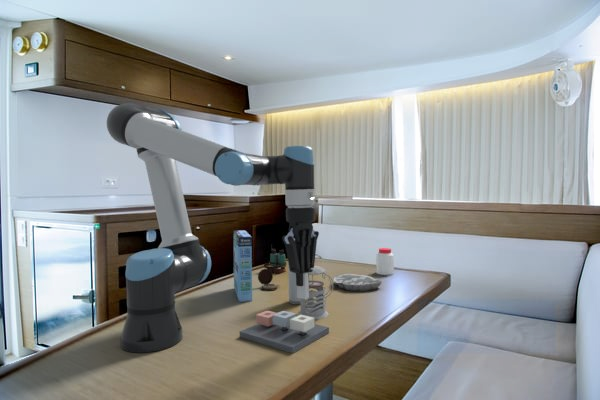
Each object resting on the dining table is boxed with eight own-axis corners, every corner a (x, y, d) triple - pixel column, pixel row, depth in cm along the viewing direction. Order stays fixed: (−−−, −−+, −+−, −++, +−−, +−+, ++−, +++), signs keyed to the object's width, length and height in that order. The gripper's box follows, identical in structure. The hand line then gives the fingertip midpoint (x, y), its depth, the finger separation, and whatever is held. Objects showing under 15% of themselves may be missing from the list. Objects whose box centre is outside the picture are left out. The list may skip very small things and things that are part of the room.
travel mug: (306, 305, 131) (305, 245, 131) (287, 304, 133) (286, 245, 132) (309, 299, 138) (308, 243, 137) (291, 298, 139) (290, 242, 138)
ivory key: (304, 338, 99) (304, 322, 98) (290, 334, 101) (290, 319, 101) (314, 332, 102) (314, 317, 102) (300, 329, 105) (300, 314, 105)
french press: (292, 311, 125) (291, 233, 124) (326, 307, 129) (325, 231, 128) (304, 321, 116) (302, 237, 115) (339, 316, 120) (338, 234, 119)
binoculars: (260, 252, 179) (272, 247, 188) (262, 275, 181) (274, 268, 189) (275, 254, 175) (288, 248, 183) (277, 277, 176) (289, 270, 184)
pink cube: (268, 332, 106) (268, 317, 106) (256, 329, 108) (256, 314, 108) (279, 327, 109) (279, 313, 109) (267, 324, 112) (267, 310, 112)
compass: (265, 292, 149) (264, 273, 148) (257, 287, 156) (257, 269, 156) (284, 289, 152) (284, 270, 152) (276, 284, 159) (275, 267, 159)
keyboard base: (292, 353, 94) (292, 347, 94) (239, 336, 104) (239, 331, 104) (329, 332, 106) (328, 327, 106) (278, 319, 117) (278, 314, 117)
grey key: (285, 333, 102) (285, 317, 102) (272, 329, 105) (272, 314, 105) (296, 328, 106) (296, 313, 106) (283, 324, 108) (283, 310, 108)
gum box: (233, 288, 155) (232, 230, 154) (246, 287, 156) (245, 230, 155) (238, 302, 136) (237, 236, 135) (253, 301, 137) (252, 236, 136)
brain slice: (322, 286, 156) (322, 279, 156) (350, 279, 168) (350, 272, 168) (360, 296, 142) (360, 288, 142) (388, 287, 153) (388, 280, 153)
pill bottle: (373, 272, 180) (373, 248, 179) (388, 270, 182) (388, 247, 181) (381, 275, 172) (381, 250, 172) (397, 274, 175) (397, 249, 174)
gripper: (296, 208, 93) (299, 306, 94) (326, 205, 103) (328, 293, 104) (272, 208, 98) (275, 301, 98) (303, 205, 108) (306, 290, 109)
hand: (303, 297), depth 101 cm, fingers closed
